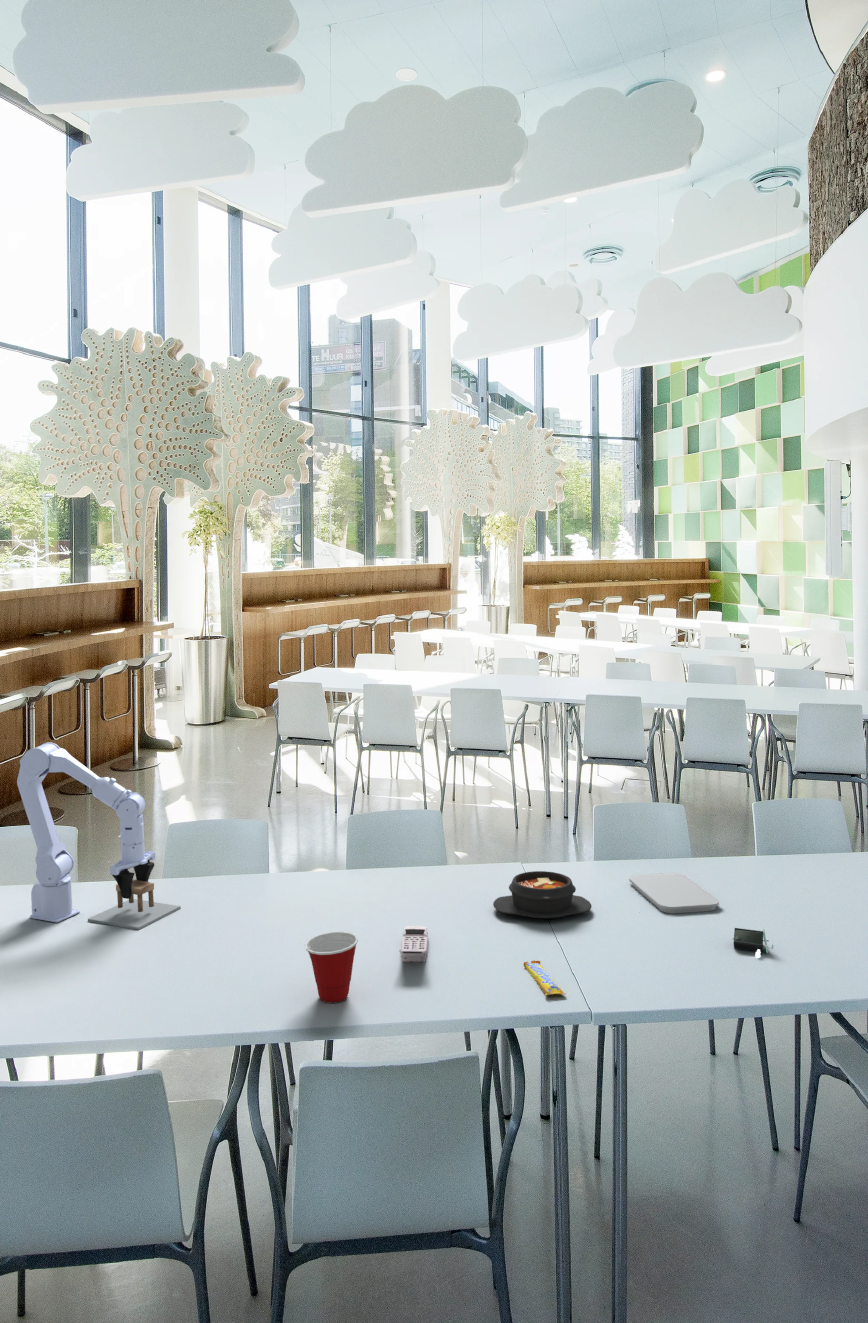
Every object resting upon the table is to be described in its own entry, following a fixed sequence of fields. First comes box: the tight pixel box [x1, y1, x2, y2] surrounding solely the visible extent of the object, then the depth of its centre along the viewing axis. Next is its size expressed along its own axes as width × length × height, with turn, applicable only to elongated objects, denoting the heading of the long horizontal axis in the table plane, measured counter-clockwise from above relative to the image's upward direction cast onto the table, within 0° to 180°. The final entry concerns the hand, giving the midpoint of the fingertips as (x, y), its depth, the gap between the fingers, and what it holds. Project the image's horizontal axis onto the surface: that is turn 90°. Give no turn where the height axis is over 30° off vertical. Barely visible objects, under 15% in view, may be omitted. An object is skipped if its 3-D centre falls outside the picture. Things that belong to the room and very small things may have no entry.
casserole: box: [492, 870, 593, 920], centre depth 235 cm, size 25×19×8 cm
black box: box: [733, 927, 774, 959], centre depth 211 cm, size 15×15×6 cm
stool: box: [115, 878, 155, 912], centre depth 235 cm, size 5×8×6 cm, turn 63°
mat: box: [87, 898, 181, 931], centre depth 235 cm, size 16×16×1 cm
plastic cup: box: [304, 931, 359, 1004], centre depth 187 cm, size 11×11×12 cm
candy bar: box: [523, 959, 566, 996], centre depth 194 cm, size 17×4×2 cm, turn 12°
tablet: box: [628, 872, 720, 914], centre depth 246 cm, size 16×26×2 cm, turn 9°
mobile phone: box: [398, 925, 429, 963], centre depth 209 cm, size 6×6×25 cm
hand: (134, 894), depth 235 cm, fingers closed on stool, 5 cm apart
